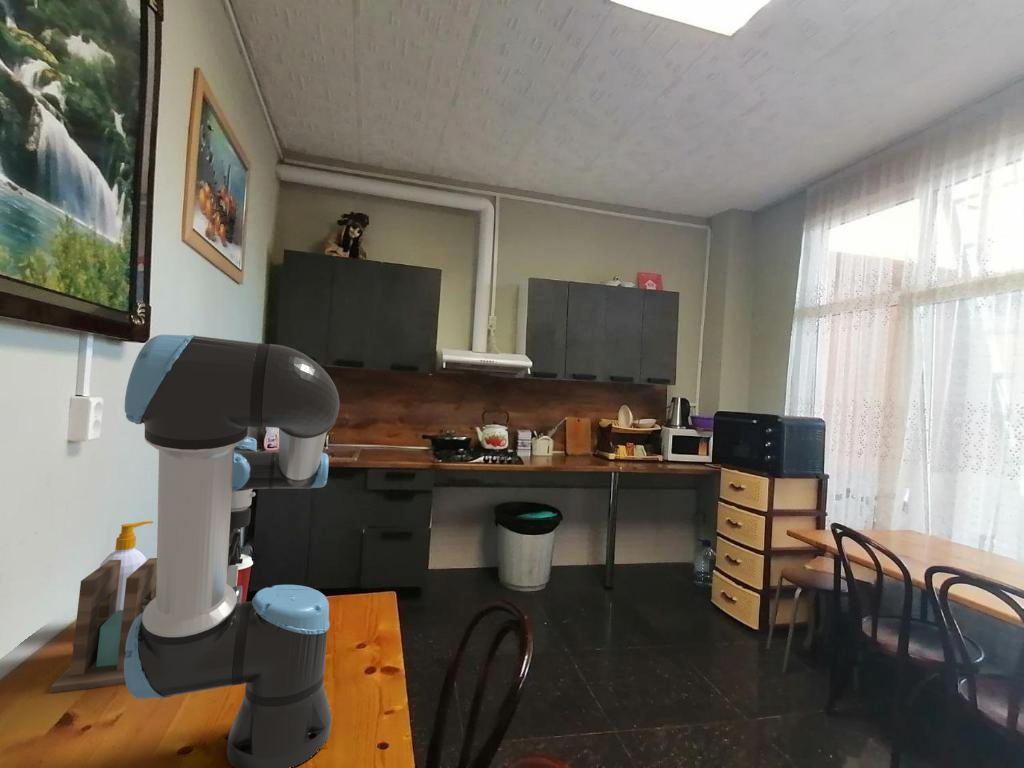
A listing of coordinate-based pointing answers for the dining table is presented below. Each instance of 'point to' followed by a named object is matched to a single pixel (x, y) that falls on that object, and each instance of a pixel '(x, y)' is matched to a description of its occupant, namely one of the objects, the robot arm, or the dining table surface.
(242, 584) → the coffee cup
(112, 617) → the spacer
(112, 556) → the soap bottle
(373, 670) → the dining table surface
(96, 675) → the block
